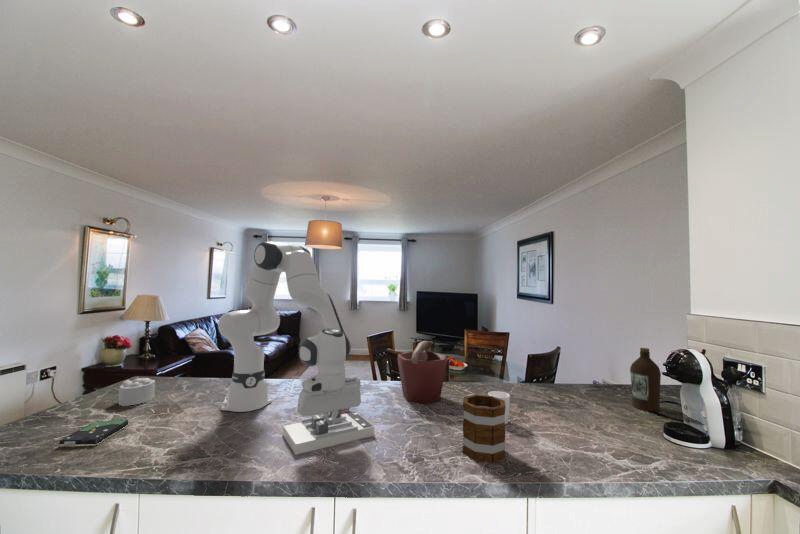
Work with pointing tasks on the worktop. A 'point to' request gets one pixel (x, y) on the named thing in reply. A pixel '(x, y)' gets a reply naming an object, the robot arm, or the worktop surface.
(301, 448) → the switch bank
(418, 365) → the bucket
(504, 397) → the white cup
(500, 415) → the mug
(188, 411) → the worktop surface
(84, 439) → the disk drive
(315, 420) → the middle tab
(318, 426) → the tab
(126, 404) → the lumpy-topped squat cylinder
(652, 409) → the olive oil
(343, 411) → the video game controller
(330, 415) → the tab
